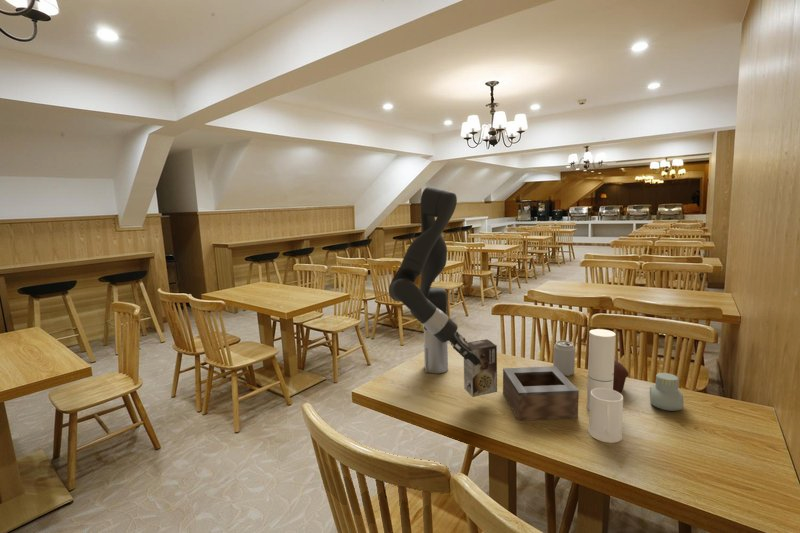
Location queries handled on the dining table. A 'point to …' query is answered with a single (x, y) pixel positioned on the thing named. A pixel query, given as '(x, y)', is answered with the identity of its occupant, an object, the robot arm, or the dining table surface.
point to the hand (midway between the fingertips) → (475, 358)
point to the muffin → (619, 376)
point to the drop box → (540, 393)
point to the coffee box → (481, 369)
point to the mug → (606, 415)
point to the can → (564, 357)
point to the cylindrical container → (600, 360)
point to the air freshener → (666, 393)
